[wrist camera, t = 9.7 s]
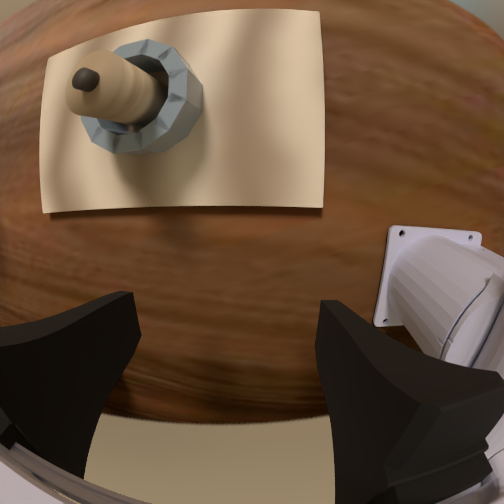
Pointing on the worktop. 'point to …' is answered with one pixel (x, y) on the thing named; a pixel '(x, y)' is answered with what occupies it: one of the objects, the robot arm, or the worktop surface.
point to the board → (203, 119)
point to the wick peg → (114, 90)
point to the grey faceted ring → (172, 113)
